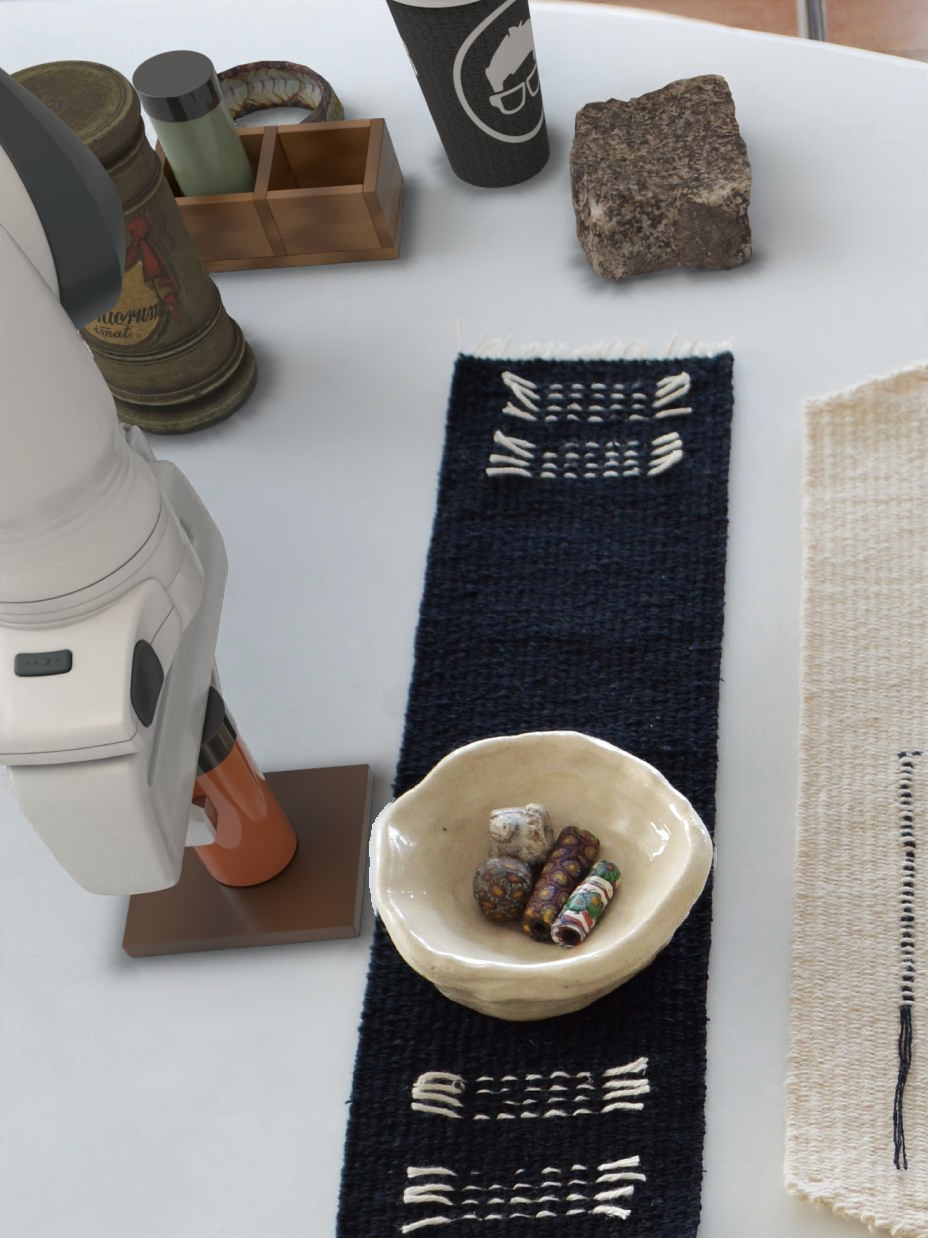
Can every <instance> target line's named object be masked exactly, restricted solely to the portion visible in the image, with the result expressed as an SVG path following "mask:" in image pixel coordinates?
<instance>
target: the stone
mask: <svg viewBox="0 0 928 1238" xmlns="http://www.w3.org/2000/svg"><path fill="white" fill-rule="evenodd" d="M731 91H732V90H731V89H730V86H729V83H728V82H727V80H726V79H725V77H724V76H722V75H719V74H714V73H711V74H709V73H708V74H701V75H697V76H694V77H690V78H681V79H677V80H674V81H671V82H670V83H667V84H666V85H665V86H663V87H661V88H659V89H655V90H653V91H650V92H646V93H644V94H642V95H640V96H639V97H631V98H630V99H629V100H628V101H625V100H621V99H616V98H614V97H610V98H609V99H608V100H606V101H593V102H588V103H585V104H584V106H583V107H582V108H581V109H579V110H578V111H577V112H576V113H575V117H574V136H573V139H571V141H572V147H571V149H570V151H569V155H568V160H569V162H568V163H569V173H570V174H569V175H570V189H571V203H572V208H573V212H574V216H575V223H576V225H575V226H576V237H577V239H578V241H579V242H580V247H581V249H582V250H583V252H584V254H585V260H586V262H587V263H588V265H589V267H590V268H591V269H593V270H594V271H595V272H596V273H597V274H598V275H599V277H601V278H603V279H605V280H606V279H607V280H609V281H619V280H621V279H623V278H629V277H641V276H646V275H651V274H654V273H658V272H661V271H666V270H671V269H676V268H680V267H683V268H686V269H695V270H705V269H706V270H724V271H730V270H732V269H733V268H735V267H739V266H742V265H745V264H747V263H748V262H750V259H751V258H752V255H753V247H752V245H753V241H752V232H753V231H752V230H753V229H752V228H751V224H750V219H749V213H748V210H749V209H748V208H749V206H750V205H751V202H750V197H751V187H752V181H753V175H752V171H751V170H752V169H751V168H752V167H751V166H752V165H751V162H750V161H749V160H748V159H749V157H748V156H749V155H748V148H747V142H746V141H745V140H744V138H743V137H742V136H741V133H740V125H739V123H738V120H737V118H736V105H735V100H734V98H733V96H732V95H733V93H732V92H731Z"/></svg>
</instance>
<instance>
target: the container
mask: <svg viewBox="0 0 928 1238" xmlns="http://www.w3.org/2000/svg"><path fill="white" fill-rule="evenodd" d="M9 75H10V76H12V77H13V78H14V79H15V80H16V81H18V82H19V83H20V84H21V85H22V86H24V87H25V88H26V89H27V90H28V91H29V92H31V93H32V94H33V95H34V96H35V97H37V98H38V99H39V100H40V101H41V102H42V103H44V104H45V105H46V106H47V107H48V108H49V109H50V110H51V111H53V112H54V113H55V114H56V115H57V116H58V117H59V118H60V119H61V120H62V121H63V122H64V123H65V124H66V125H67V126H68V127H70V128H71V130H72V131H73V132H74V133H75V134H76V135H77V136H78V137H79V138H80V139H81V140H82V141H83V142H84V143H85V144H86V145H87V147H88V148H89V149H90V150H91V151H92V152H93V154H94V155H95V156H96V158H97V159H98V160H99V161H100V163H101V164H102V166H103V167H104V168H105V170H106V171H107V173H108V175H109V176H110V178H111V180H112V181H113V183H114V185H115V187H116V189H117V191H118V194H119V197H120V199H121V203H122V209H123V214H124V223H125V239H126V253H125V268H124V276H123V283H122V289H121V294H120V298H119V300H118V302H117V304H116V305H115V307H114V308H113V309H112V310H110V311H109V312H107V313H105V314H104V315H102V316H101V317H99V318H97V319H96V320H94V321H93V322H91V323H89V324H88V325H86V326H85V327H83V328H81V329H80V330H78V332H79V334H80V336H81V338H82V339H83V341H84V343H85V345H86V346H87V348H88V350H89V352H90V353H91V355H92V357H93V359H94V360H95V362H96V364H97V366H98V368H99V369H100V371H101V373H102V375H103V377H104V379H105V381H106V383H107V385H108V387H109V389H110V391H111V393H112V396H113V399H114V403H115V406H116V410H117V417H118V419H119V420H120V421H121V422H122V421H123V422H128V423H129V424H131V425H136V426H138V427H139V428H140V430H141V431H142V432H144V433H148V434H155V435H165V436H166V435H181V434H182V435H183V434H188V433H193V432H198V431H201V430H204V429H207V428H209V427H213V426H214V425H216V424H218V423H220V422H222V421H224V420H226V419H227V418H229V417H230V416H232V415H233V414H235V413H236V412H237V411H238V410H240V409H241V408H242V406H244V405H245V403H247V401H248V400H249V399H250V397H251V396H252V394H253V392H254V390H255V388H256V385H257V381H258V364H257V363H258V362H257V357H256V355H255V352H254V350H253V348H252V347H251V345H250V343H249V342H248V341H247V340H246V339H245V334H244V331H243V330H242V328H241V326H240V325H239V323H238V322H237V320H235V319H234V318H233V317H232V316H230V315H229V314H228V312H227V310H226V307H225V305H224V302H223V300H222V294H221V291H220V289H219V287H218V285H217V283H216V282H215V281H214V280H213V278H212V277H211V276H210V275H209V273H207V271H206V268H205V266H204V264H203V262H202V260H201V258H200V256H199V253H198V251H197V248H196V246H195V244H194V241H193V239H192V237H191V235H190V233H189V230H188V228H187V226H186V223H185V221H184V219H183V216H182V214H181V211H180V209H179V206H178V204H177V202H176V200H175V197H174V195H173V193H172V190H171V188H170V186H169V184H168V181H167V179H166V177H165V175H164V173H163V165H162V161H161V159H160V157H159V155H158V154H157V153H156V152H155V148H153V147H152V146H151V142H150V141H149V139H148V136H147V134H146V125H145V124H146V123H145V120H144V118H143V115H142V104H141V102H140V99H139V96H138V94H137V92H136V90H135V88H134V86H133V83H132V82H131V81H130V80H129V79H128V78H127V77H126V75H123V73H121V72H120V71H119V70H117V69H115V68H113V67H112V66H109V65H106V64H105V63H104V64H103V63H101V62H95V61H90V60H79V59H78V60H77V59H76V60H75V59H73V60H72V59H70V60H67V59H66V60H57V61H56V60H55V61H49V62H45V63H44V62H43V63H39V64H35V65H32V66H29V67H28V66H27V67H25V68H22V69H20V70H17V71H15V72H13V73H9Z"/></svg>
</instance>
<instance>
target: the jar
mask: <svg viewBox="0 0 928 1238" xmlns="http://www.w3.org/2000/svg"><path fill="white" fill-rule="evenodd" d="M217 74H218V73H217V71H216V67H215V66H214V63H213V61H212V60H211V59H210V58H209V56H207V55H206V54H204V53H202V52H198V51H195V50H189V49H176V50H170V51H169V50H168V51H164V52H162V53H158V54H155V55H153V56H151V57H150V58H148V59H145V60H144V61H143V62H141V63H140V64H139V65H138V66H137V67H136V68H135V70H134V72H133V74H132V77H131V84H132V86H133V87H134V88H135V90H136V92H137V94H138V96H139V99H140V103H141V108H142V109H143V111H144V112H145V114H146V115H147V116H148V119H149V121H150V123H151V125H152V127H153V130H154V132H155V134H156V138H157V137H158V139H159V141H160V144H161V146H162V148H163V151H164V153H165V155H166V158H167V160H168V162H169V164H170V167H171V169H172V171H173V174H174V176H175V178H176V181H177V183H178V185H179V187H180V190H181V192H182V194H183V197H193V196H207V195H221V194H235V193H249V192H253V193H254V190H255V184H256V177H255V174H254V172H253V169H252V167H251V164H250V161H249V159H248V156H247V154H246V151H245V149H244V146H243V144H242V141H241V139H240V136H239V134H238V131H237V128H238V127H237V126H236V123H235V121H233V118H232V116H231V113H230V111H229V108H228V106H227V103H226V100H225V98H224V95H223V88H222V86H221V83H220V81H219V78H218V75H217Z"/></svg>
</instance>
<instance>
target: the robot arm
mask: <svg viewBox="0 0 928 1238" xmlns="http://www.w3.org/2000/svg"><path fill="white" fill-rule="evenodd" d="M125 253H126V239H125V223H124V214H123V209H122V203H121V199H120V197H119V194H118V191H117V189H116V187H115V185H114V183H113V181H112V180H111V178H110V176H109V175H108V173H107V171H106V170H105V168H104V167H103V166H102V164H101V163H100V161H99V160H98V159H97V158H96V156H95V155H94V154H93V152H92V151H91V150H90V149H89V148H88V147H87V145H86V144H85V143H84V142H83V141H82V140H81V139H80V138H79V137H78V136H77V135H76V134H75V133H74V132H73V131H72V130H71V128H70V127H68V126H67V125H66V124H65V123H64V122H63V121H62V120H61V119H60V118H59V117H58V116H57V115H56V114H55V113H54V112H53V111H51V110H50V109H49V108H48V107H47V106H46V105H45V104H44V103H42V102H41V101H40V100H39V99H38V98H37V97H35V96H34V95H33V94H32V93H31V92H29V91H28V90H27V89H26V88H25V87H24V86H22V85H21V84H20V83H19V82H18V81H16V80H15V79H14V78H13V77H12V76H10V73H8V72H7V71H6V70H4V69H3V68H2V67H1V66H0V766H6V774H7V778H8V784H9V786H10V789H11V792H12V795H13V797H14V800H15V801H16V803H17V805H18V807H19V809H20V811H21V813H22V814H23V816H24V817H25V819H26V821H27V822H28V823H29V825H30V826H31V827H32V829H33V831H34V832H35V833H36V835H37V836H38V838H39V839H40V840H41V841H42V844H44V845H45V846H46V848H47V850H49V852H50V854H52V856H53V857H54V858H55V859H56V861H57V862H58V863H59V864H60V866H61V867H62V868H63V869H64V871H65V872H66V873H67V874H68V875H69V877H70V878H71V879H72V880H73V881H74V883H76V884H77V885H78V886H79V887H80V888H82V890H84V891H86V892H88V893H90V894H93V895H98V896H112V897H113V896H131V895H132V894H141V893H148V892H154V891H159V890H163V889H167V888H170V887H173V886H174V885H176V884H177V883H178V881H179V879H180V876H181V869H182V861H183V855H184V848H185V846H186V847H188V846H200V845H210V844H213V843H214V842H215V836H216V831H217V822H218V813H217V811H216V810H214V808H213V805H212V803H211V801H210V800H209V798H208V796H199V797H193V798H192V796H193V790H194V784H195V778H196V771H197V765H198V758H199V752H200V746H201V739H202V733H203V726H204V720H205V713H206V707H207V701H208V694H209V688H210V685H211V686H212V687H214V688H215V689H216V690H217V691H218V692H219V693H220V695H221V696H222V698H223V700H224V697H223V691H222V685H221V681H220V675H219V670H218V665H217V659H216V650H217V643H218V635H219V630H220V622H221V618H222V610H223V605H224V596H225V590H226V585H227V578H228V572H229V561H228V560H229V559H228V553H227V549H226V545H225V542H224V538H223V535H222V532H221V531H220V529H219V528H218V526H217V523H215V521H214V519H213V517H212V516H211V514H210V512H209V511H208V509H207V507H206V505H205V504H204V502H203V500H202V499H201V498H200V496H199V494H198V493H197V491H196V490H195V488H194V486H193V485H192V484H191V482H190V480H189V479H188V477H187V476H186V475H185V473H184V472H183V471H182V470H181V469H180V468H179V467H178V466H177V465H176V464H175V463H174V462H171V461H170V460H167V459H161V460H157V457H156V456H155V454H154V452H153V449H152V448H151V446H150V443H149V442H148V440H147V438H146V436H145V434H144V433H143V431H141V430H140V428H139V427H138V426H136V425H131V424H129V423H128V422H123V421H122V420H121V421H119V417H118V416H117V410H116V406H115V403H114V399H113V396H112V393H111V391H110V389H109V387H108V385H107V383H106V381H105V379H104V377H103V375H102V373H101V371H100V369H99V368H98V366H97V364H96V362H95V360H94V359H93V355H92V353H91V351H90V349H89V347H88V345H87V344H86V343H85V342H84V340H83V339H82V338H81V336H80V334H79V331H78V330H80V329H81V328H83V327H85V326H86V325H88V324H89V323H91V322H93V321H94V320H96V319H97V318H99V317H101V316H102V315H104V314H105V313H107V312H109V311H110V310H112V309H113V308H114V307H115V305H116V304H117V302H118V300H119V298H120V294H121V289H122V283H123V276H124V268H125ZM224 702H225V703H226V701H225V700H224ZM228 709H229V710H230V708H229V707H228Z"/></svg>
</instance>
